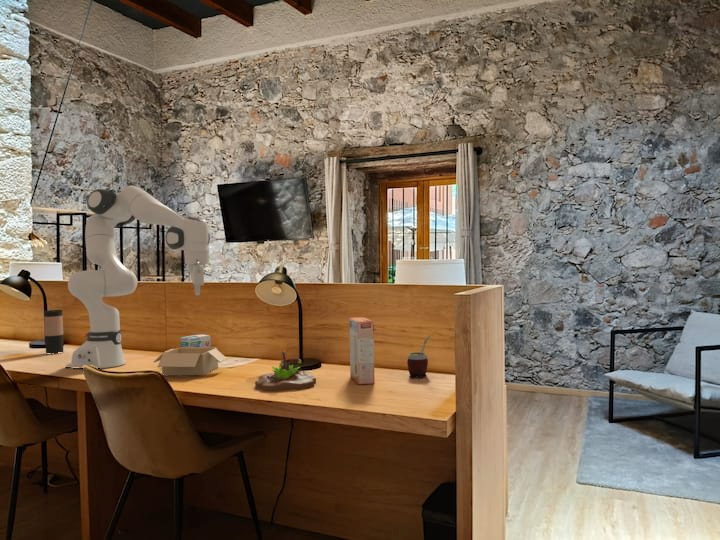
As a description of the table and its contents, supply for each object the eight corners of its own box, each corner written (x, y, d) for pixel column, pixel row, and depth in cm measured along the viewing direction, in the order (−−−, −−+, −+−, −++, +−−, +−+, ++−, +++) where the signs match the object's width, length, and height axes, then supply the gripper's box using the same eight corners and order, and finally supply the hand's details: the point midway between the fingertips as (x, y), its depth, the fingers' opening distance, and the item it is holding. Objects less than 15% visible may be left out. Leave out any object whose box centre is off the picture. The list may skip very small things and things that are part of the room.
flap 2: (208, 351, 206) (220, 362, 206) (215, 348, 213) (227, 358, 213) (207, 352, 206) (219, 362, 206) (214, 349, 213) (226, 359, 213)
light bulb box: (190, 364, 226) (189, 338, 225) (180, 363, 230) (179, 337, 229) (211, 360, 234) (211, 334, 234) (201, 359, 238) (200, 333, 238)
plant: (312, 377, 199) (311, 345, 199) (318, 389, 180) (317, 354, 179) (255, 380, 195) (254, 348, 195) (255, 394, 176) (254, 358, 176)
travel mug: (42, 353, 262) (41, 311, 262) (59, 351, 268) (58, 309, 268) (49, 355, 257) (47, 311, 257) (66, 352, 263) (65, 310, 263)
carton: (149, 375, 206) (148, 353, 206) (173, 365, 225) (172, 344, 225) (203, 375, 203) (202, 353, 203) (223, 365, 222) (222, 344, 222)
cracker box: (375, 384, 184) (374, 320, 183) (357, 385, 182) (356, 321, 182) (366, 375, 197) (365, 316, 197) (350, 376, 196) (348, 317, 196)
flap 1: (163, 354, 205) (157, 367, 201) (163, 353, 205) (157, 366, 200) (200, 354, 203) (194, 367, 199) (199, 353, 203) (194, 366, 198)
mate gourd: (404, 375, 196) (403, 332, 195) (426, 373, 198) (425, 331, 197) (412, 380, 189) (411, 335, 188) (434, 378, 191) (433, 334, 190)
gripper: (207, 260, 207) (208, 297, 208) (203, 257, 226) (203, 291, 227) (189, 260, 205) (190, 298, 206) (187, 258, 224) (187, 292, 225)
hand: (197, 295), depth 216 cm, fingers closed
